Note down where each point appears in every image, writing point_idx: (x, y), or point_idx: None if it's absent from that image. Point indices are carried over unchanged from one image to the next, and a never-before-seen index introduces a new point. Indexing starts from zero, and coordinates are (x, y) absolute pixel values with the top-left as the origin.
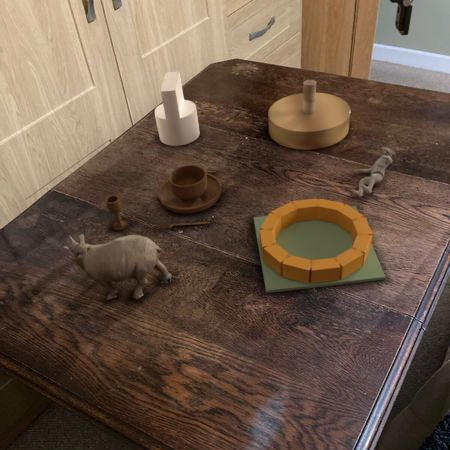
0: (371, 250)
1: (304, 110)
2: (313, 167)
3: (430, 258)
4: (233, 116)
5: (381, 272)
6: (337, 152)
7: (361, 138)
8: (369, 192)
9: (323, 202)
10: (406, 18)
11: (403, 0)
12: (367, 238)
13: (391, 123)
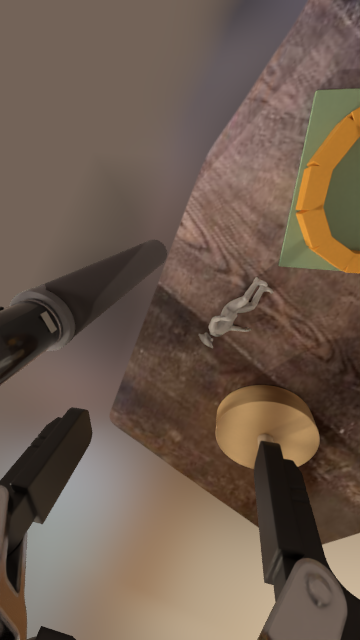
0: (306, 160)
1: (272, 440)
2: (290, 355)
3: (232, 134)
4: (335, 470)
5: (317, 102)
6: (249, 372)
7: (213, 385)
8: (257, 278)
9: (342, 260)
10: (288, 497)
11: (345, 607)
12: (324, 154)
13: (172, 397)
